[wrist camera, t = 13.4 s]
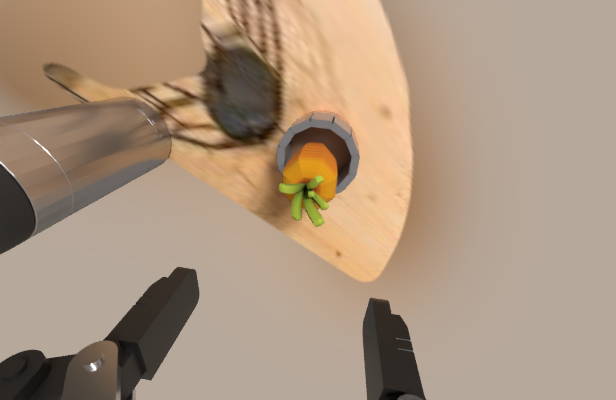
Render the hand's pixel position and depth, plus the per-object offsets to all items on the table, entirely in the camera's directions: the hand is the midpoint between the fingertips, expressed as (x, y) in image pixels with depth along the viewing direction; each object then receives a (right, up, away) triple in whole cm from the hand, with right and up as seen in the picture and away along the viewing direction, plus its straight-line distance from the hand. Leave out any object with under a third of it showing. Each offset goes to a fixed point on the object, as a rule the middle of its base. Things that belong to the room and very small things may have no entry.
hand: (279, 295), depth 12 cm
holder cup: (+3, +11, +20) cm, 23 cm away
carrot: (+2, +11, +19) cm, 22 cm away
